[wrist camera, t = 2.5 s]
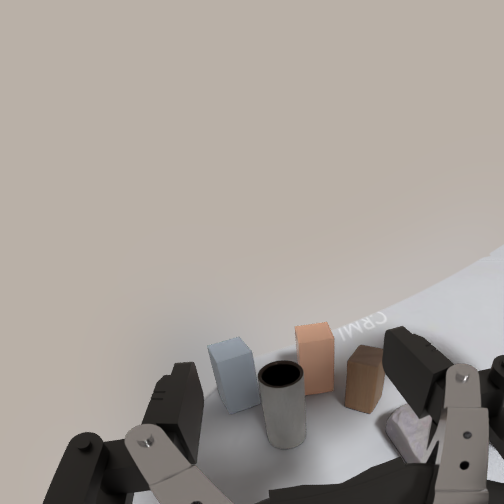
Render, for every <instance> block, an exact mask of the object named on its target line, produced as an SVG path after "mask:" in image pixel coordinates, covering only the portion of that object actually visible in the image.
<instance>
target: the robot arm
mask: <svg viewBox="0 0 504 504" xmlns="http://www.w3.org/2000/svg"><path fill="white" fill-rule="evenodd" d="M382 366H383V370H384V372H385V374H386V375H387V376H388V378H389V379H390V380H391V382H392V383H393V384H394V386H395V387H396V388H397V390H398V391H399V392H400V394H401V395H402V396H403V398H404V399H405V400H406V402H407V403H408V404H409V406H410V407H411V408H412V410H413V411H414V413H415V414H416V415H417V417H418V418H419V419H422V418H424V417H426V416H428V415H430V416H431V421H430V424H429V429H428V435H427V440H426V444H425V449H424V453H423V457H422V460H421V463H406V464H404V462H403V460H402V459H401V457H398V458H396V459H393V460H391V461H388V462H385V463H382V464H380V465H377V466H374V467H371V468H369V469H368V470H366V471H364V472H362V473H360V474H359V475H357V476H355V477H353V478H351V479H349V480H347V481H345V482H343V483H340V484H329V485H300V486H295V487H289V488H282V489H275V490H269V498H268V499H265V500H262V501H260V502H258V503H255V504H504V483H500V482H495V481H490V480H487V469H488V452H489V440H490V442H491V443H492V444H493V446H494V447H495V448H496V450H497V451H498V452H499V454H500V455H501V457H502V458H503V459H504V355H501V356H498V357H496V358H495V359H494V361H493V364H492V367H491V369H486V370H482V371H477V370H476V369H475V368H474V367H473V366H471V365H468V364H456V365H454V364H453V363H452V362H451V361H450V360H449V359H447V358H446V357H445V356H444V355H443V354H442V353H441V352H440V351H438V350H436V348H435V347H434V346H433V345H431V343H429V342H428V341H427V340H426V339H425V338H423V337H421V336H418V335H416V334H412V333H410V332H409V331H408V330H407V329H406V328H405V327H403V326H400V327H397V328H393V329H390V330H387V331H386V332H385V337H384V347H383V356H382ZM203 407H204V396H203V391H202V388H201V384H200V380H199V377H198V373H197V370H196V366H195V364H194V362H184V363H175V364H174V367H173V370H172V373H171V375H164V376H163V377H162V378H161V379H160V380H159V381H158V382H157V383H156V386H155V389H154V393H153V394H152V397H151V400H150V402H149V405H148V408H147V410H146V413H145V416H144V418H143V421H142V424H141V425H139V426H136V427H134V428H132V429H131V430H130V431H129V432H128V433H127V434H126V436H125V439H121V440H115V441H108V442H103V440H102V439H101V438H100V436H98V435H97V434H95V433H91V432H85V433H81V434H78V435H76V436H75V437H74V438H72V439H71V441H70V442H69V444H68V446H67V448H66V450H65V453H64V455H63V457H62V459H61V461H60V464H59V466H58V468H57V470H56V473H55V475H54V477H53V480H52V482H51V484H50V487H49V489H48V492H47V494H46V496H45V499H44V501H43V504H132V502H133V496H134V492H141V491H148V490H151V491H152V492H153V494H154V495H155V497H156V498H157V500H158V501H159V502H160V504H234V503H233V502H232V501H231V500H229V499H228V498H227V497H226V496H225V495H224V494H223V493H222V492H221V491H220V490H219V489H218V488H217V487H216V486H215V485H214V484H213V483H212V482H211V481H210V480H209V479H208V478H207V477H206V476H205V475H204V474H203V473H202V472H201V470H200V469H199V468H198V467H197V466H195V465H191V464H196V463H197V455H198V446H199V438H200V430H201V422H202V414H203Z"/></svg>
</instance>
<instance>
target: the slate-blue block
mask: <svg viewBox="0 0 504 504" xmlns="http://www.w3.org/2000/svg"><path fill="white" fill-rule="evenodd" d="M207 347H208V352H209V355H210V360H211V364H212V368H213V372H214V376H215V379H216V383H217V387H218V391H219V394H220V397H221V399H222V401H223V403H224V404H225V406H226V408H227V410H228V412H229V413H230V414H233V413H236V412H239V411H242V410H245V409H248V408H250V407H253V406H256V405H259V404H261V402H260V396H259V390H258V384H257V378H256V372H255V366H254V360H253V354H252V351H251V350H250V349H249V347H248V346H247V345H246V344H245V343H244V342H243V341H242V339H241V338H240V337H236V338H233V339H229V340H226V341H222V342H219V343H216V344H212V345H208V346H207Z"/></svg>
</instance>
